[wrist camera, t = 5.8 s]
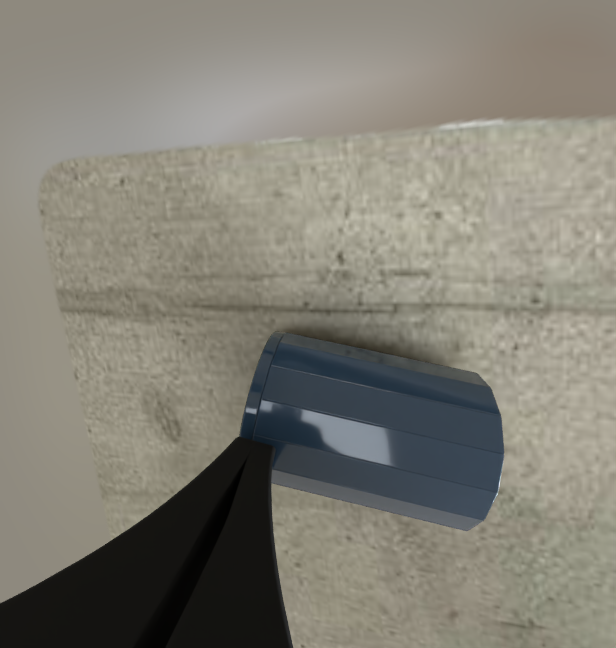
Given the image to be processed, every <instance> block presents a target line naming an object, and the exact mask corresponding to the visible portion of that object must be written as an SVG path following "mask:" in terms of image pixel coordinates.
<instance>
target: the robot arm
mask: <svg viewBox="0 0 616 648" xmlns="http://www.w3.org/2000/svg"><path fill="white" fill-rule="evenodd" d="M275 451H276V449H275V447H274V446H272V445H268V444H265V443H261V442H257V441H254V440H250V439H246V438H243V437H237V438H235V440H234V441H233V442H232V443H231V444H230V445H229V446H228V447H227V448H226V449H225V450H224V451H223V452H222V453H221V454H220V455H219V456H218V457H217V458H216V459H215V460H214V461H213V462H212V463H211V464H210V465H209V466H208V467H207V468H206V469H205V470H204V471H202V472H201V473H200V474H199V475H198V476H197V477H196V478H195V479H194V480H192V481H191V482H190V483H189V484H188V485H186V486H185V487H184V488H183V489H182V490H180V491H179V492H178V493H177V494H175V495H174V496H173V497H172V498H171V499H169V500H168V501H167V502H166V503H164V504H163V505H162V506H160V507H159V508H158V509H156V510H155V511H154V512H152V513H151V514H150V515H148V516H147V517H145V518H144V519H143V520H141V521H140V522H138V523H137V524H135V525H134V526H133V527H131V528H130V529H128V530H127V531H125V532H124V533H122V534H120V535H119V536H117V537H116V538H114V539H113V540H111V541H110V542H108V543H107V544H105V545H104V546H102V547H100V548H99V549H97V550H96V551H94V552H92V553H91V554H89V555H87V556H86V557H84V558H83V559H81V560H79V561H77V562H76V563H74V564H72V565H71V566H68V567H67V568H65V569H63V570H62V571H60V572H58V573H56V574H54V575H53V576H51V577H49V578H47V579H46V580H44V581H42V582H40V583H39V584H37V585H35V586H33V587H31V588H29V589H28V590H26V591H24V592H22V593H20V594H18V595H16V596H14V597H13V598H10V599H8V600H7V601H5V602H2V603H0V648H293V645H292V640H291V635H290V631H289V626H288V621H287V616H286V611H285V607H284V602H283V597H282V591H281V585H280V579H279V573H278V566H277V559H276V552H275V543H274V534H273V521H272V499H271V480H272V466H273V460H274V456H275Z"/></svg>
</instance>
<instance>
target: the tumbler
mask: <svg viewBox="0 0 616 648" xmlns="http://www.w3.org/2000/svg"><path fill="white" fill-rule="evenodd" d="M239 437H243V438H246V439H250V440H254V441H257V442H261V443H265V444H268V445H272V446H274V447H275V449H276V451H275V456H274V460H273V466H272V480H271V483H273V484H277V485H281V486H285V487H289V488H293V489H297V490H301V491H305V492H309V493H314V494H318V495H322V496H326V497H330V498H334V499H338V500H342V501H346V502H350V503H354V504H358V505H362V506H366V507H371V508H375V509H379V510H383V511H387V512H391V513H395V514H399V515H403V516H407V517H411V518H415V519H419V520H423V521H428V522H432V523H436V524H440V525H444V526H448V527H452V528H456V529H460V530H464V531H468V530H470V529H471V528H473V527H475V526H476V525H478V524H479V523H481V522H482V521H484V520H485V518H486V516H487V514H488V512H489V510H490V508H491V506H492V504H493V502H494V500H495V498H496V496H497V494H498V491H499V485H500V479H501V473H502V466H503V460H504V443H503V431H502V419H501V414H500V411H499V409H498V406H497V403H496V400H495V398H494V395H493V392H492V389H491V387H490V386H489V385H488V384H487V383H486V382H485V381H484V380H483V379H482V378H481V377H480V376H479V375H478V374H477V373H475V372H470V371H465V370H460V369H456V368H451V367H446V366H442V365H437V364H432V363H427V362H423V361H418V360H413V359H409V358H404V357H399V356H394V355H390V354H385V353H380V352H376V351H371V350H366V349H361V348H357V347H352V346H347V345H343V344H338V343H333V342H329V341H324V340H319V339H314V338H310V337H305V336H300V335H296V334H291V333H284V332H280V331H275V332H274V333H273V334H272V335H271V336H270V338H269V339H268V341H267V343H266V345H265V347H264V350H263V352H262V354H261V357H260V359H259V362H258V365H257V368H256V371H255V374H254V377H253V380H252V383H251V387H250V390H249V394H248V398H247V401H246V406H245V410H244V414H243V419H242V423H241V429H240V434H239Z"/></svg>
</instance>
